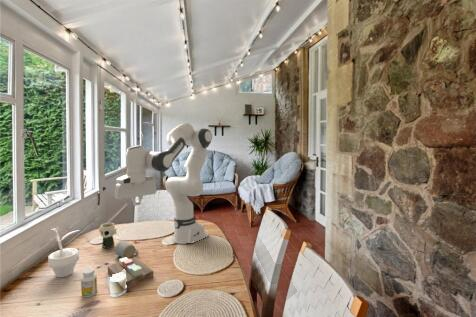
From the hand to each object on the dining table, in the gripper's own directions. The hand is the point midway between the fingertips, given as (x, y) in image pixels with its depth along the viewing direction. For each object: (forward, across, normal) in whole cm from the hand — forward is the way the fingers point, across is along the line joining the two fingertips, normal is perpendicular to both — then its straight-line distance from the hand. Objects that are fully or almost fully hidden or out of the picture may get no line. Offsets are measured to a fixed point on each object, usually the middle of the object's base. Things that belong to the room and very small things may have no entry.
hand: (136, 205), depth 126 cm
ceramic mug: (+29, +2, -10) cm, 31 cm away
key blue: (+27, +8, +13) cm, 31 cm away
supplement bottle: (+29, +26, +13) cm, 41 cm away
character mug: (+29, +5, -28) cm, 41 cm away
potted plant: (+29, +29, -11) cm, 43 cm away
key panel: (+29, +8, +10) cm, 32 cm away
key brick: (+26, +8, +8) cm, 29 cm away
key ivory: (+27, +8, +4) cm, 29 cm away
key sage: (+26, +8, +17) cm, 33 cm away
